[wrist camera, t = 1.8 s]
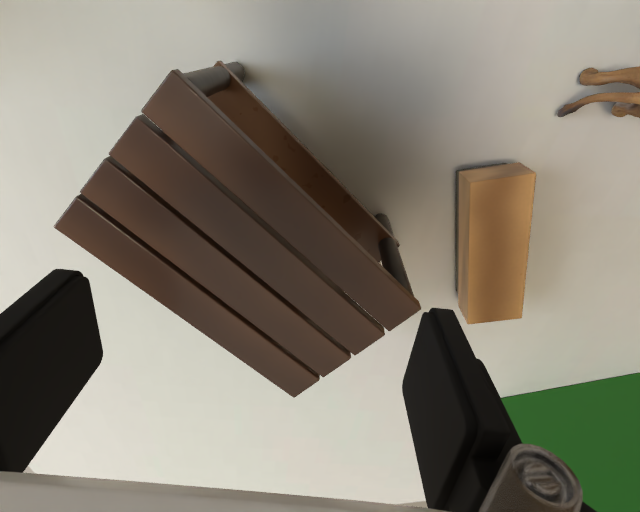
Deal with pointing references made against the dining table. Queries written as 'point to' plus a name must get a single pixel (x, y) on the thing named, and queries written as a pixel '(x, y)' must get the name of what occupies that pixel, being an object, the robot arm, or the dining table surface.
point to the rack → (242, 231)
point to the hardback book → (589, 436)
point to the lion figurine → (623, 106)
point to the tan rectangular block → (493, 240)
